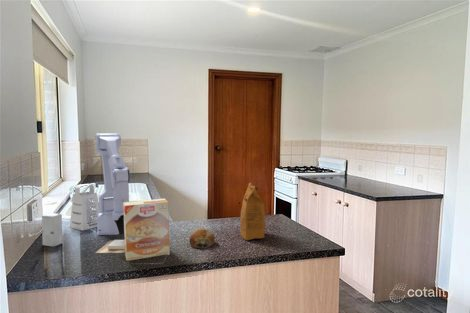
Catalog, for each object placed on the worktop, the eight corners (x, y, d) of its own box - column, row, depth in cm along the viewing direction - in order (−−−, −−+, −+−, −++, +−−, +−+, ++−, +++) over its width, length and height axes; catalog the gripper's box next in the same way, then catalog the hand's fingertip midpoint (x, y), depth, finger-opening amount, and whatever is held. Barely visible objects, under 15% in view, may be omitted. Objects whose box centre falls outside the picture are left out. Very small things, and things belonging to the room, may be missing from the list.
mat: (95, 253, 119) (94, 252, 119) (110, 241, 133) (110, 240, 133) (133, 253, 118) (133, 252, 118) (144, 241, 132) (144, 240, 132)
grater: (102, 224, 158) (101, 184, 156) (82, 230, 149) (80, 187, 147) (89, 222, 163) (88, 182, 162) (69, 227, 154) (67, 185, 153)
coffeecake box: (126, 262, 111) (124, 205, 109) (124, 255, 117) (122, 201, 116) (170, 255, 116) (168, 201, 115) (166, 248, 123) (164, 197, 122)
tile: (114, 243, 128) (107, 250, 121) (114, 239, 128) (107, 245, 121) (132, 243, 128) (126, 249, 121) (132, 239, 128) (126, 245, 121)
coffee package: (261, 231, 143) (260, 181, 141) (267, 240, 131) (266, 186, 129) (239, 232, 142) (238, 182, 140) (242, 241, 130) (241, 187, 128)
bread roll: (217, 251, 129) (220, 231, 132) (207, 248, 120) (210, 227, 123) (194, 249, 132) (197, 229, 135) (183, 246, 123) (187, 225, 126)
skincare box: (42, 245, 129) (40, 215, 128) (51, 241, 133) (49, 212, 132) (54, 246, 127) (52, 216, 126) (63, 243, 131) (61, 213, 130)
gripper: (124, 203, 119) (126, 239, 120) (137, 195, 133) (138, 228, 134) (105, 203, 119) (107, 239, 120) (120, 195, 134) (121, 228, 134)
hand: (122, 233), depth 127 cm, fingers closed
